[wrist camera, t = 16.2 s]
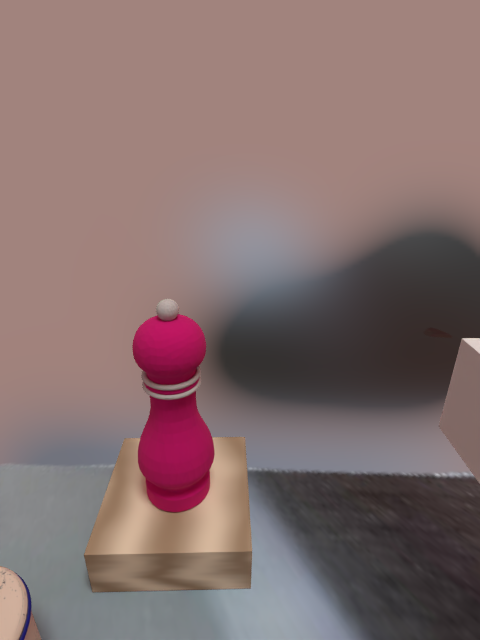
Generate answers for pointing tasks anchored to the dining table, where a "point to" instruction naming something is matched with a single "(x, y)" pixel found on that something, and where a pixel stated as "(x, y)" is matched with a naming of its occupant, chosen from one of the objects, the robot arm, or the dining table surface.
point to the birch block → (173, 530)
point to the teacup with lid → (15, 608)
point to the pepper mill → (173, 410)
